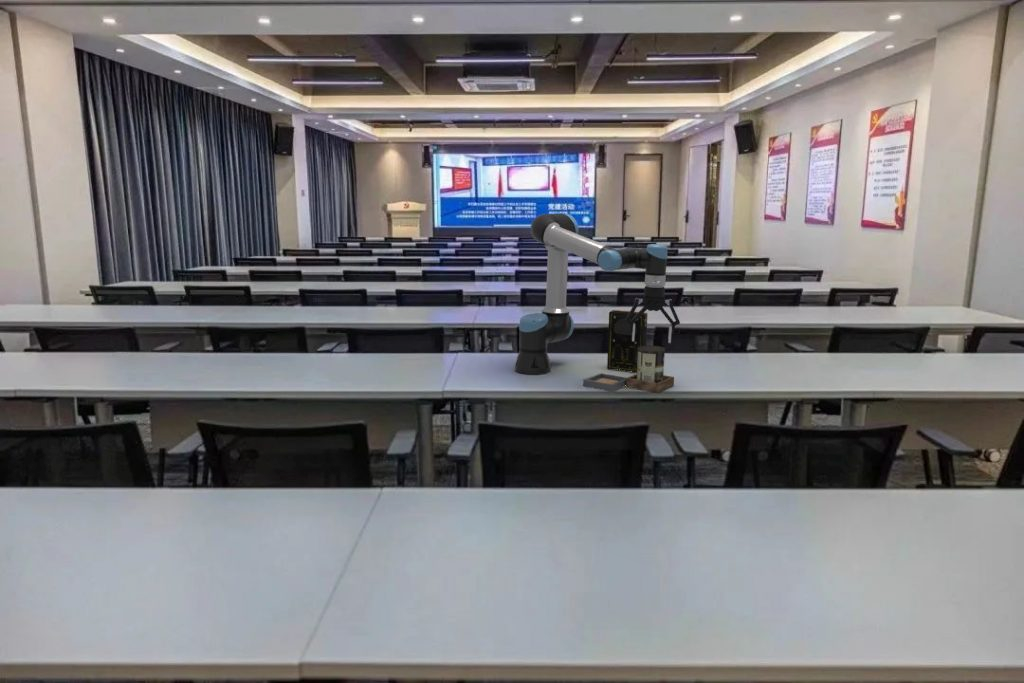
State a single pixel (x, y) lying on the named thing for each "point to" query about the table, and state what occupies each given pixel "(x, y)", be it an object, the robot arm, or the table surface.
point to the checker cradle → (605, 382)
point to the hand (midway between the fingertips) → (651, 341)
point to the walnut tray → (650, 384)
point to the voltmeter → (625, 340)
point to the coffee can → (650, 363)
